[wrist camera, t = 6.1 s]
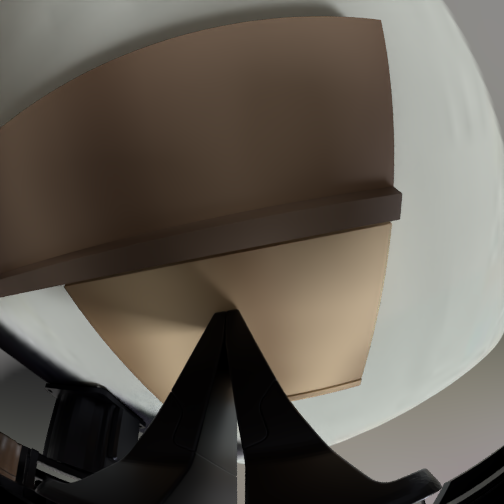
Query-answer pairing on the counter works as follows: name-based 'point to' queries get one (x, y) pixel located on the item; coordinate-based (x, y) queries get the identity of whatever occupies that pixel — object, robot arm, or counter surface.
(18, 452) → the plant pot
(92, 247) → the walnut board
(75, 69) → the counter surface
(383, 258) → the tan square board
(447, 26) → the counter surface
